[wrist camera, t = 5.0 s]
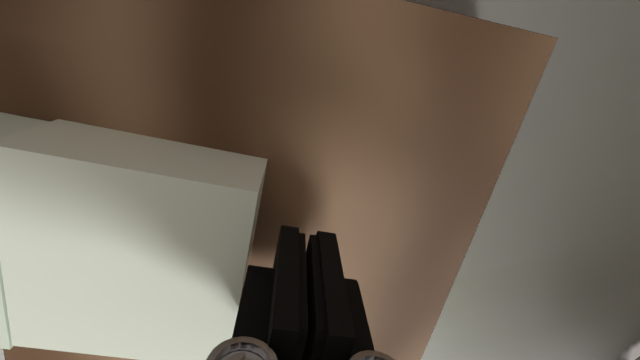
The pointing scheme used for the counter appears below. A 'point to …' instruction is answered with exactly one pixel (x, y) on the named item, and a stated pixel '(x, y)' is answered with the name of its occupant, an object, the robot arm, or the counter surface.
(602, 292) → the counter surface
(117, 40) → the tan square panel
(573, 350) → the counter surface
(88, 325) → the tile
